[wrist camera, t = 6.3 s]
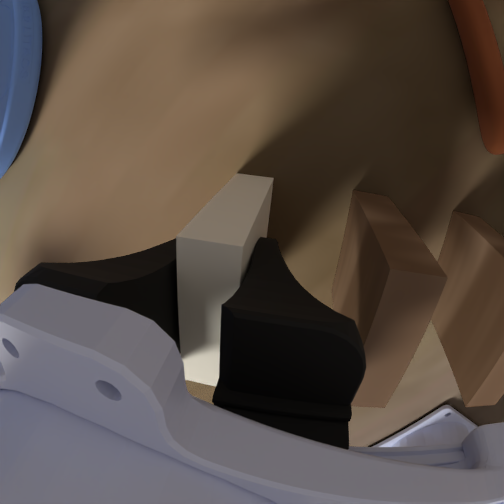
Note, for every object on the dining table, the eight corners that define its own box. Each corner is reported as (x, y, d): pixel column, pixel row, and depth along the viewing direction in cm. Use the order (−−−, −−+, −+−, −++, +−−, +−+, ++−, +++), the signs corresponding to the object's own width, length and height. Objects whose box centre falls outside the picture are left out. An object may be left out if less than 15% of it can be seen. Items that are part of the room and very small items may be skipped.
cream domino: (273, 178, 14) (243, 246, 7) (261, 279, 16) (231, 389, 10) (236, 173, 14) (176, 236, 7) (229, 273, 16) (182, 378, 10)
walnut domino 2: (479, 217, 12) (562, 295, 6) (447, 304, 15) (495, 404, 8) (453, 210, 13) (534, 291, 6) (422, 301, 15) (465, 407, 9)
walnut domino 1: (387, 196, 13) (447, 277, 7) (362, 293, 15) (384, 407, 9) (353, 190, 13) (390, 269, 7) (331, 289, 15) (338, 404, 9)
